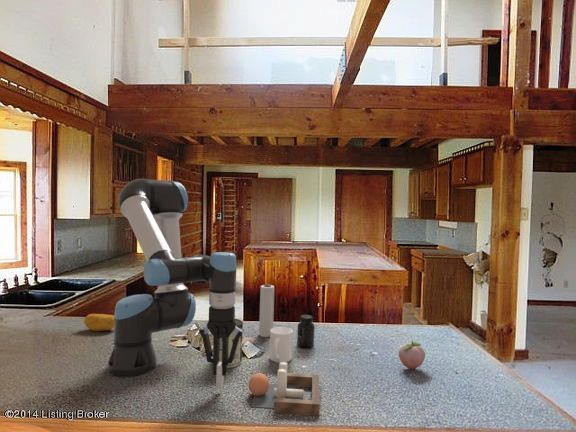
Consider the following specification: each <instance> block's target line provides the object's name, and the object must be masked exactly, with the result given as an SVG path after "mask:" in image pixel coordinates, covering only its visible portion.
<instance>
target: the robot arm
mask: <svg viewBox="0 0 576 432" xmlns="http://www.w3.org/2000/svg"><path fill="white" fill-rule="evenodd" d="M188 204H189V198H188V192H187V190H186V188H185V186H184V185H183V184H182V183H181V182H179V181H173V180H162V179H149V178H136V179H133V180H131V181H129V182H128V183H126V184H125V185H124V186H123V188H122V189H121V191H120V193H119V195H118V203H117V205H118V209H119V210H120V213H121V215H122V216H123V217H125V218H127V220H128V222H129V225H130V227H131V229H132V231H133V233H134V236H135V237H136V238H135V239H136V240H137V242H138V245H139V246H140V249H141V250H142V253H143V256H144V257H145V259H146V261H145V263H144V265H143V270H142V271H143V272H142V273H143V276H144V277H143V278H144V282H145V283H146V284H147V285H148V286H150V287H154V286H155V287H157V286H158V287H157V289H156V290H155V291H154V297H153V295H152V294H148V293H142V294H139V293H138V294H132V295H128V296H126V297H123V298H121V299H119V300H118V301H117V302H116V304H115V309H114V314H113V315H114V318H115V325H114V328H113V329H114V332H113V348H112V350H111V353H110V356H109V359H108V361H107V369H106V370H107V373H108V374H109V375H112V376H115V377H126V378H127V377H136V376H140V375H144V374H147V373H149V372H151V371H153V370H154V369H155V368H156V367H157V361H158V360H157V355H156V352H155V349H154V346H153V343H152V342H153V341H152V340H153V339H152V337H153V333H158V332H163V331H168V330H173V329H180V328H183V327H187V326H188V325H191V324H192V322H193V320H194V319H195V316H196V311H197V303H196V299H195V296H194V295H193V294H192V293H190V292H189V288H188V287H187V286H186V285H185V284H187V283H193V282H194V283H195V282H207V283H209V291H208V292H209V293H208V295H209V296H208V297H209V298H208V299H209V300H208V301H209V302H208V304H209V305H210V306H209V307H208V321H207V323H206V325H205V326H202V327H201V328H200V329H198V330H199V331H198V332H199V335H200V336H201V338H202V342H203V347H204V353H205V357H206V361H207V363H211V364H212V365H213V367H212V369H213V371H212V375H213V376H216V377H215V378H216V380H215V382H216V383H215V388H217V389H222V388H223V385H224V380H225V379H224V378H225V377H226V375H227V374H228V368H227V364H229V363H230V364H231V363H232V361H233V360H234V357H235V353H236V349H237V346H238V342H239V338H240V336H241V335H242V336H243V334H244V329H239V328H238V327H236V323H235V319H236V318H235V317H236V316H235V315H236V307H235V304H236V284H237V267H238V266H237V255H236V254H235V253H233V252H227V251H220V252H219V251H218V252H212V253H211V254H210V256H209V255H206V254H196V255H195V254H194V255H193V256H189V257H188V256H187V257H182V247H181V246H182V245H181V233H180V219H181V218H182V217H183V212H185V211H186V210H187V208H188ZM184 283H185V284H184ZM233 331H235V333H234V335H235V338H234V341H233V345H232V349H231V352H230V356H229V358H228V339H229V336H230V334H231V333H232V332H233ZM209 332H210V334H211V335H212V338H213V339H212V340H213V341H214V349H212V348H213V347H212V344H211V339H210V335H209ZM220 338H222V362H219V360H220V359H219V352H220ZM213 341H212V342H213Z"/></svg>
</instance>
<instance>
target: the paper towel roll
mask: <svg viewBox="0 0 576 432" xmlns="http://www.w3.org/2000/svg"><path fill="white" fill-rule="evenodd" d="M259 289H260V292H259V293H260V298H259V324H258V325H259V327H258V328H259V330H258V334H259V335H258V336H260V337H263V338H270V330H271V329H272V328H274V318H275V317H274V315H275V313H274V312H275V307H274V306H275V286H274V285H272V284H263V285H260V288H259Z"/></svg>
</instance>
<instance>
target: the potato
mask: <svg viewBox="0 0 576 432" xmlns="http://www.w3.org/2000/svg"><path fill="white" fill-rule="evenodd" d="M83 322H84V325H85V327H86V328H87V329H89V330H91V331H95V332H103V331H110V330H112V329H114V325H115V318H114V314H104V313H89V314H88V315H86V316H85V317H84V319H83Z"/></svg>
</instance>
